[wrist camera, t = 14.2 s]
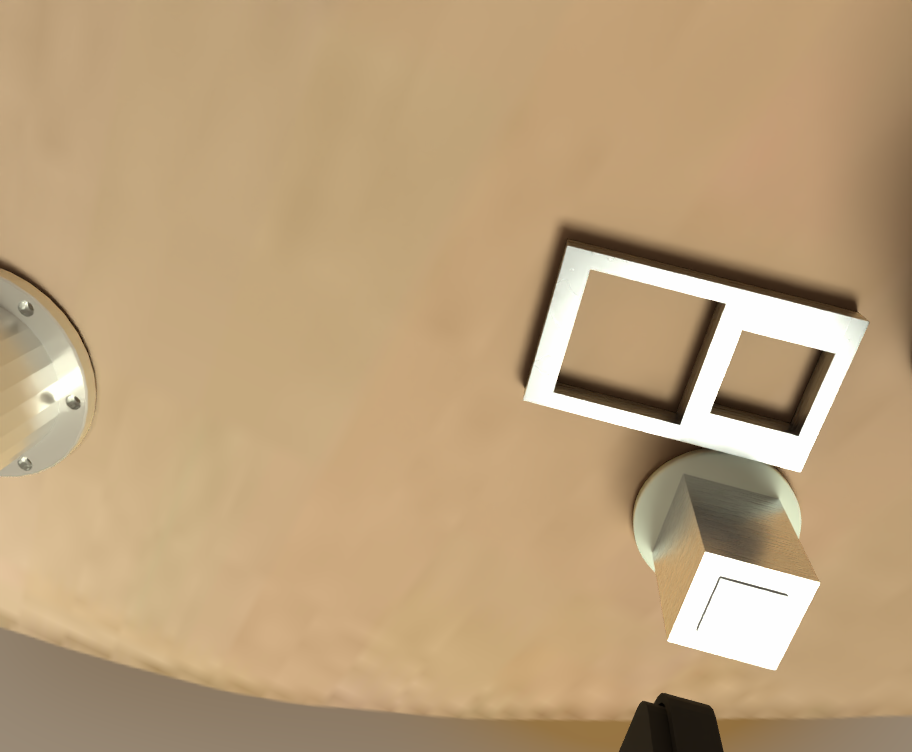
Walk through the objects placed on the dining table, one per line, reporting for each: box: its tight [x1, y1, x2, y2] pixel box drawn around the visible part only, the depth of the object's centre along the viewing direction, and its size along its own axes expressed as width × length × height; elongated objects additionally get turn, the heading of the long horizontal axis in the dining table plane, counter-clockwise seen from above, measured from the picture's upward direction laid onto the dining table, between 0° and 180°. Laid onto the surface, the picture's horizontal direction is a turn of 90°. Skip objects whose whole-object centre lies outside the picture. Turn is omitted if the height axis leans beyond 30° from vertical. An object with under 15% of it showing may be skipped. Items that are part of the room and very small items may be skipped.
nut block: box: [652, 473, 820, 670], centre depth 38 cm, size 5×5×7 cm
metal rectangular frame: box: [523, 239, 869, 472], centre depth 38 cm, size 14×8×2 cm, turn 77°
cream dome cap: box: [633, 448, 801, 572], centre depth 41 cm, size 8×8×1 cm
